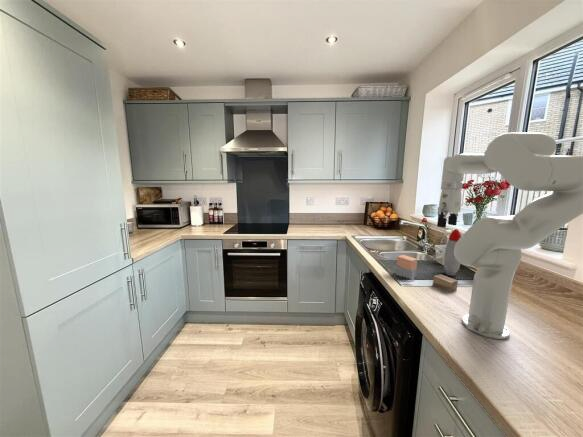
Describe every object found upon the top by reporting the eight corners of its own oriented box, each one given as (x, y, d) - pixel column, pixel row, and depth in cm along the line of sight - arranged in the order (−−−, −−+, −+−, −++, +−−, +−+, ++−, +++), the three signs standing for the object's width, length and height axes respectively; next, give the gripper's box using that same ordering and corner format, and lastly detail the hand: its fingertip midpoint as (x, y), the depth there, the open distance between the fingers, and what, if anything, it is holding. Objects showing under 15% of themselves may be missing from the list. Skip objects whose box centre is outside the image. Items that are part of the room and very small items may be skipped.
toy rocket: (463, 277, 122) (470, 230, 118) (447, 276, 123) (453, 230, 119) (454, 271, 130) (460, 227, 126) (439, 271, 130) (444, 227, 126)
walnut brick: (449, 293, 105) (450, 282, 105) (432, 285, 113) (433, 275, 112) (456, 291, 107) (457, 280, 107) (439, 283, 115) (440, 274, 114)
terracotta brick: (410, 270, 118) (411, 260, 117) (396, 265, 125) (397, 256, 124) (416, 268, 121) (417, 259, 120) (402, 263, 128) (403, 254, 127)
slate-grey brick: (411, 279, 119) (412, 270, 118) (395, 274, 125) (396, 265, 124) (415, 277, 122) (416, 267, 122) (400, 272, 128) (400, 263, 127)
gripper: (451, 186, 92) (446, 229, 95) (470, 186, 101) (465, 225, 104) (431, 186, 98) (427, 226, 101) (451, 186, 107) (446, 222, 110)
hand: (446, 225), depth 102 cm, fingers open, 9 cm apart
